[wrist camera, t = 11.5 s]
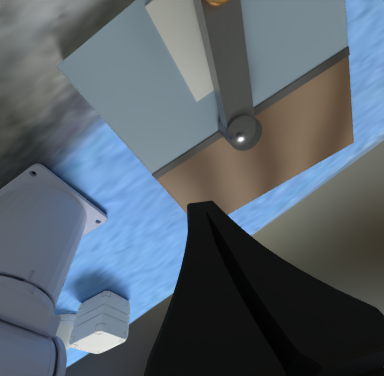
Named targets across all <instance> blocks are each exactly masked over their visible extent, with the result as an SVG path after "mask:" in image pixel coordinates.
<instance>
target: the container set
mask: <svg viewBox="0 0 384 376" xmlns="http://www.w3.org/2000/svg"><path fill="white" fill-rule="evenodd" d="M129 307H130V303H129V301H128V300H126V299H124V298H122V297H120V296H118V295H117V294H115V293H113V292H111V291H103V292H101V293H99V294H98V295H96V296H94V297H92V298H90V299H88V300H86V301H84V302H83V303H81V305H80V306H79V307H78V311H77V314H71V313H68V314H60V315H59V316H60V317H61V321H60V324H59V326H58V329H57V332H56V335H55V336H58V337H59V338H60V339H61V340H62V341H63V343H64V345H65V348H66V351H67V350H68V349H69V348H70V347H72V348H75V349H79V350H83V351H87V352H90V353H94V354H99V353H102V352H104V351H106V350H108V349H110V348H113V347H115V346H117V345H119V344H121V343H122V342H125V341H126V339H127V337H128V334H127V333H128V328H129V324H128V323H129V315H130V308H129Z"/></svg>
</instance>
